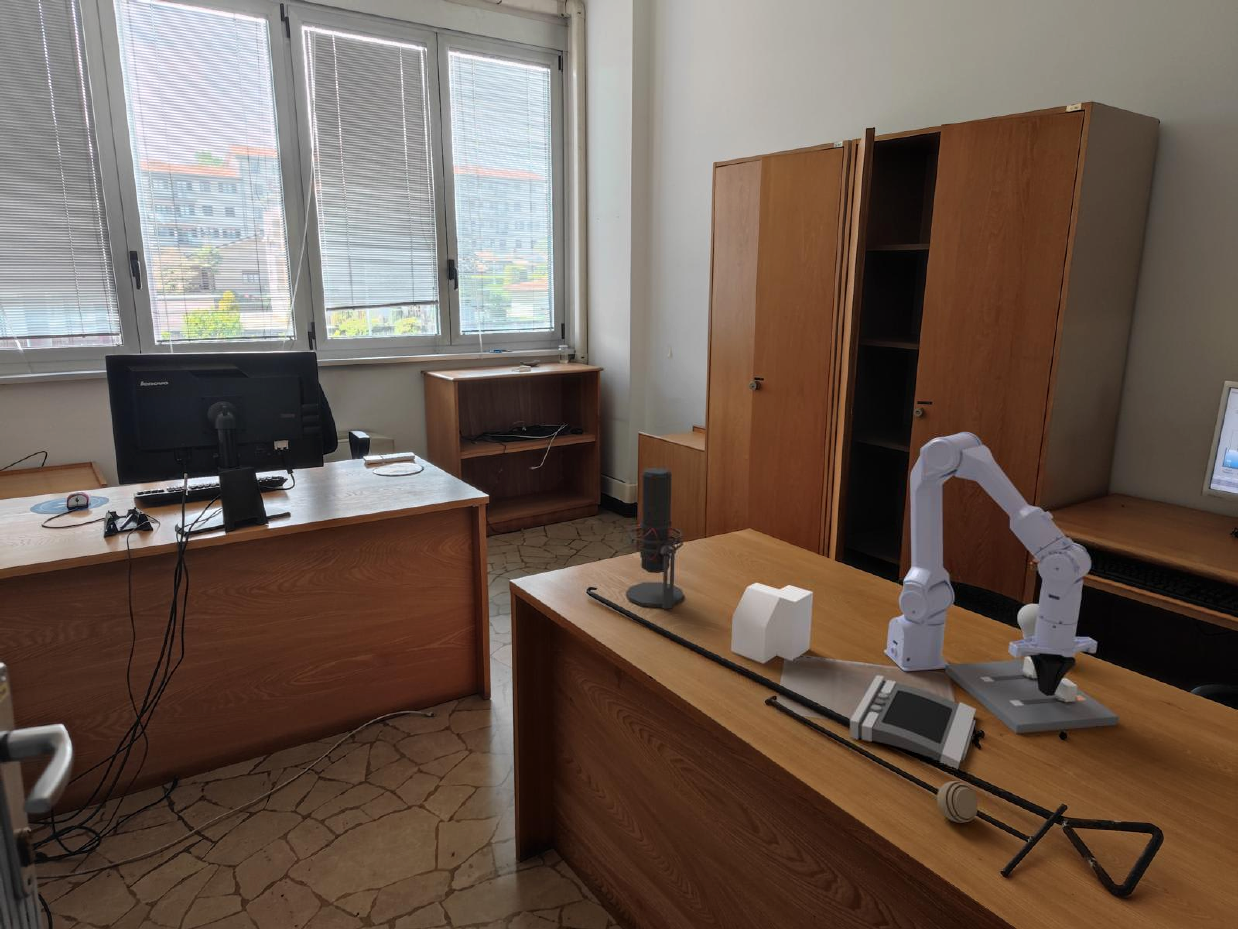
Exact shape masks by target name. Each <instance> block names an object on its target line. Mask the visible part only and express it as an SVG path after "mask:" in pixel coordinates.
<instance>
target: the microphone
mask: <svg viewBox="0 0 1238 929" xmlns="http://www.w3.org/2000/svg"><path fill="white" fill-rule="evenodd" d="M641 475H642V480H641V482H642V484H641V485H642V488H641V489H642V490H641V491H642V492H641V500H642V502H641V521H640V523H639V524H638V525H637V527H635V528H634V529H631V531H630V532H629V533H628V536H629V538H630V540H629V542H628V543H629V545H630V548H631V549H634V550H636V551H637V552H638V553H639V554H640V555H639V557H640V558H641V563H640V565H641V566H640V567H641V569H643V570H645V571H646V572H647V573H651V574H652V573H653V574H660V573H663V577H662V578H663V580H662V581H663V582H662V581H656V582H654V581H653V582H651V581H650V582H647V581H646V582H641V583H638V584H635V585H631V586H630V587H628V589H627V590H626V592H625V595H626V598H627V600H628V601H629V602H631V603H632V604H636V605H638V606H641V607H644V608H645V607H646V608H648V607H649V608H662V609H663V610H666V609H673V608H674V605H676V604H679V603H681V601H682V600H683V598H684V596H685V595H684V592H683V590H682V588H680V587H678V586H676V585H674V584H675V557H676V555H675V554H676V553H677V551H678V550H679V549H680V548H681V547H682V546H684V542H683V541H682V540H681V539H683V533H682V531H681V530H680V529H678V528H674V527H673V526H672V521H671V519H672V518H671V517H672V516H671V515H672V514H671V512H672V510H671V508H672V472H671V469H670V468H669V469H668V468H664V467H647V468H646V469H644V470H642V474H641ZM637 531H641V535H636V536H634V535H633V533H634V532H637ZM671 531H672V532H674V533H675V534H678V537H676V536H673V535H671ZM634 541H637V544H638V545H639V542H640V543H641V547H640V546H636V545H634V544H633V542H634ZM674 543H676V545H675V544H674ZM669 568H670V569H669ZM668 571H670V572H668ZM668 573H669V583H668Z"/></svg>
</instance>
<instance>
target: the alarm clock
mask: <svg viewBox="0 0 1238 929" xmlns="http://www.w3.org/2000/svg"><path fill="white" fill-rule="evenodd" d="M884 676H885V675H878V674H877V675H875V677H874V679H873V681H872V682H871V684H870V686H869V687H868V690H867V691H866V692H865V695H864V696H863V697H862V699H861V700H860V702H859V704H858V706H857V708H856V709H855V711H854V712H853V714H852V715H851V718H850V719H849V738H851V739H854V740H859V739H861V740H863V741H867V742H870V743H871V742H873V741H874V742H878V743H882V744H886V745H891V746H894V747H897V748H901V749H905V750H907V751H910V752H913V753H916V754H918V753H919V755H921V754H922V756H924V755H925V756H924V757H926V756H928V757H931V758H933V759H934V760H933V759H932V760H933V761H935V760H938V761H940V762H941V763H944V764H947V765H948V766H950V767H954V768H956V769H957V770H958V768H959V765H960V762H965V758H966V756H967V752H968V751H969V750H968V749H969V746H970V742H971V738H972V736H973V732H974V728H975V725H976V722H977V721H976V719H974V717H975V714H976V710H977V709H976V708H974V707H972V706H970V705H967V704H966V703H963V702H959V703H957V702H955V701H953V700H950V699H948V698H946V697H944V696H941V695H938V694H935V693H933V692H930V691H929V690H924V689H921V688H917V687H914V686H911V685H906V684H902V683H898V682H897V681H895V680H889V679H887V680H885V677H884ZM928 757H927V758H928ZM940 762H939V763H940Z"/></svg>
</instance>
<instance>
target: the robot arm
mask: <svg viewBox="0 0 1238 929" xmlns="http://www.w3.org/2000/svg"><path fill="white" fill-rule="evenodd" d="M919 454H920V455H919V457H918V459H917V461H916V463H915V464H914V466H913V468H912V470H911V472H910V476H909V477H910V478H909V481H910V486H909V489H910V493H909V494H910V542H911V543H910V548H911V549H910V551H911V552H910V554H911V556H910V557H911V558H910V559H911V560H910V562H911V563H910V564H911V567H910V569H909V570H908V573H907V574H906V576H905V577H904V579H903V581H902V582H903V583H902V584H903V585H902V586H903V587H902V590H901V594H899V597H898V605H899V608H900V611H901V612H902V615H900V616H897V617H892V618H891V619H890V621H889V622H888V629H887V640H886V641H887V642H886V649H884V651H883V652H884V654H885V655H886V656H888V657H889V658H890V660H892V661H893V662H894V663H895V664H896V665H897V666H898V667H899V668H900V669H901V670H903V671H904V672H913V671H914V672H915V671H916V672H917V671H927V670H928V671H929V670H939V669H940V670H942V669H944V670H945V668H946V665H951V664H950V663H949V662H948V661H946V660H945V659H944V658H943V657H942V656H943V648H944V640H945V638H944V637H945V630H946V621H947V609H949V608H951V606H953V604H954V602H955V592H954V589H953V587H952V585H951V581H950V573H949V572H948V571H947V569H945V568H944V560H943V559H944V551H943V549H944V548H943V546H944V543H943V541H944V540H943V537H944V536H943V534H944V533H943V532H944V531H943V523H944V522H943V485H944V483H945V482H947V481H948V480H949V479H950V478H951V477H953V476H954V477H956V478H960V479H966V480H970V481H973V482H974V481H975V482H976V483H978V484H979V486H981V487H982V488H983V490H984V491H985V492H986V493H987V494H988V495H989V496H990V497H991V498H992V499H993V501H995V502H996V503H997V505H998V506H999V507H1000V508H1001V509H1002V510H1003V511H1004V512H1005V513H1006V514H1007V515H1008V516H1009V529H1010V530H1011V531H1012V532H1013V533H1014V534H1015V536H1016V537H1017V538H1018V540H1019V541H1020V542H1021V544H1023V545H1024V547H1025V548H1026V549H1027V550H1028V551H1029V553H1030V554H1031V555H1032V556H1033V557H1034V559H1035V560H1037V561H1038V563H1037V571H1038V574H1039V575H1040V577H1041V580H1042V582H1041V588H1040V594H1039V602H1038V605H1039V606H1038V613H1037V620H1036V627H1035V634H1034V636H1032V637H1029V638H1026V639H1024V638H1023V639H1020V640H1017V641H1010V642H1009V643H1008V644H1009V646H1008V654H1010V655H1011V656H1012V657H1014V658H1016V659H1022V656H1024V657H1025V656H1028V657H1030V658H1031V660H1032V662H1033V665H1034V668H1035V671H1036V675H1037V681H1038V688H1039V691H1040V692H1042V693H1043V694H1045V695H1046V696H1053V695H1054V694H1055V692H1056V690H1057V688H1058V686H1059V684H1060V682H1061V680H1062V679H1063V678H1065V676H1066V674H1067V673H1068V672H1069V671H1070V670H1071V669H1073V667H1074V666H1076V662H1077V661H1076V660H1077V659H1076V658H1075V657H1076V653H1081V652H1088V653H1089V654H1095V653H1096V652H1097V648H1098V641H1096V640H1094V639H1093V638H1091V637H1089V636H1076V634H1077V627H1078V620H1079V615H1080V607H1081V601H1082V590H1083V586H1084V585H1083V584H1084V579H1083V577H1084V576H1086V575H1087V574H1088V573H1089V571H1090V569H1091V568H1092V560H1091V556H1090V554H1089V553H1088V552H1087V549H1086V548H1085V546H1083V545H1081V544H1078V543H1075V542H1074V541H1073V540H1072V538H1071V537H1067V536H1065V534H1064V533H1063V532H1062V531H1061V529H1060V528H1059V526H1057V525H1056V524H1055V522H1054V521H1053V520H1052V519H1053V518H1054V516H1053V515H1052V513H1050V511H1044V510H1043V509H1042V508H1041V507H1039V506H1034V505H1030V504H1028V503H1027V501H1026V500H1025V499H1024V497H1023V496H1022V494H1021V493H1020V492H1019V491H1018V489H1017V488H1016V487H1015V486H1014V484H1013V482H1011V480H1010V478H1009V477H1008V476H1007V475H1006V474H1005V472H1004V471H1003V470H1002V468H1001V467H1000V466H999V464H998V463H997V462H996V461H995V458H994V457H993V454H992V452H991V450H990V449H989V448H988V446H986V445H984V444H983V442H982V441H981V439H980V438H979V437H978V436H977V435H975V434H974V433H972V432H968V431H961V432H958V433H956V434H951V435H948V436H940V437H936V438H933V439H931V440H929V441H928V442H927V443H925V444H924V445H923V446H922V447H921V448H920V450H919Z"/></svg>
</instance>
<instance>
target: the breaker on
mask: <svg viewBox="0 0 1238 929" xmlns="http://www.w3.org/2000/svg"><path fill="white" fill-rule="evenodd" d="M1023 660H1024V667H1023V670H1021V673H1023V674H1024V675H1025V676H1027V677H1028V678H1031V677H1032V678H1037V675H1036V671H1035V668H1034V665H1033V662H1032V660H1031V658H1030V656H1024V658H1023Z"/></svg>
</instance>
